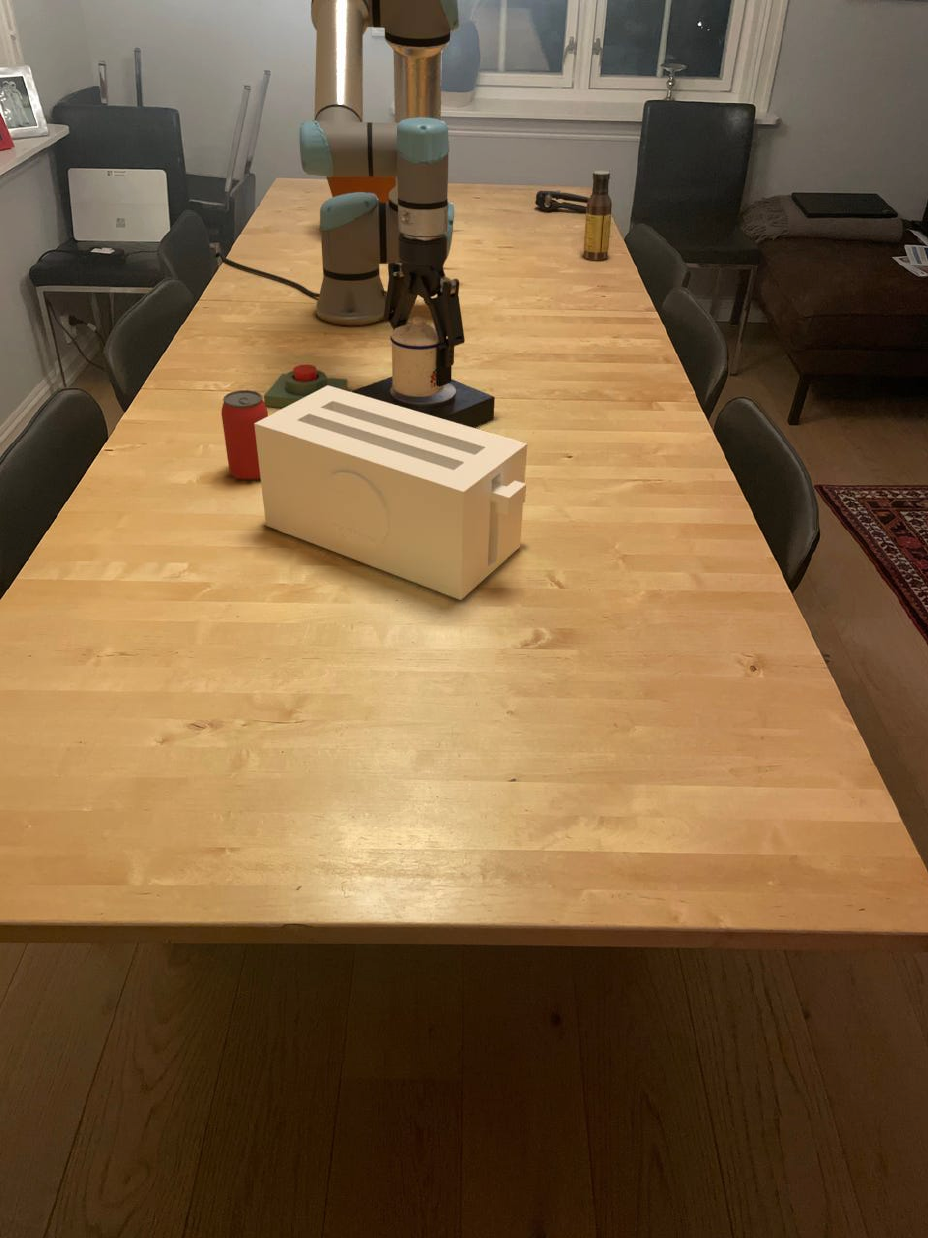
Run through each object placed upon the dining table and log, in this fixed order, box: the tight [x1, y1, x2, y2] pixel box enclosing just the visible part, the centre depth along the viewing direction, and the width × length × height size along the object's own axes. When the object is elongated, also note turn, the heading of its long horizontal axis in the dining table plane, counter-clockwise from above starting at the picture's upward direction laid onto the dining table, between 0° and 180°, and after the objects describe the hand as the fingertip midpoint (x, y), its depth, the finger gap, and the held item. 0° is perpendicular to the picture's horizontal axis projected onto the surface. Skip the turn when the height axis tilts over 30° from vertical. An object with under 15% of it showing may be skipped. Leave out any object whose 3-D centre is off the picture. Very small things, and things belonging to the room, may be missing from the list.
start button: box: [292, 364, 318, 382], centre depth 165 cm, size 4×4×2 cm
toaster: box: [254, 385, 528, 601], centre depth 126 cm, size 35×16×15 cm, turn 58°
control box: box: [263, 369, 349, 409], centre depth 167 cm, size 12×10×4 cm
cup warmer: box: [351, 376, 496, 428], centre depth 162 cm, size 18×16×5 cm
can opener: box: [534, 189, 590, 214], centre depth 276 cm, size 18×7×6 cm, turn 80°
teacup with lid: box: [389, 315, 448, 397], centre depth 157 cm, size 12×9×12 cm
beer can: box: [220, 389, 269, 481], centre depth 142 cm, size 7×7×12 cm
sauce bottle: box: [583, 170, 613, 261], centre depth 235 cm, size 6×6×20 cm
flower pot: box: [325, 176, 396, 202], centre depth 246 cm, size 24×24×20 cm
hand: (423, 375), depth 159 cm, fingers closed on teacup with lid, 9 cm apart
